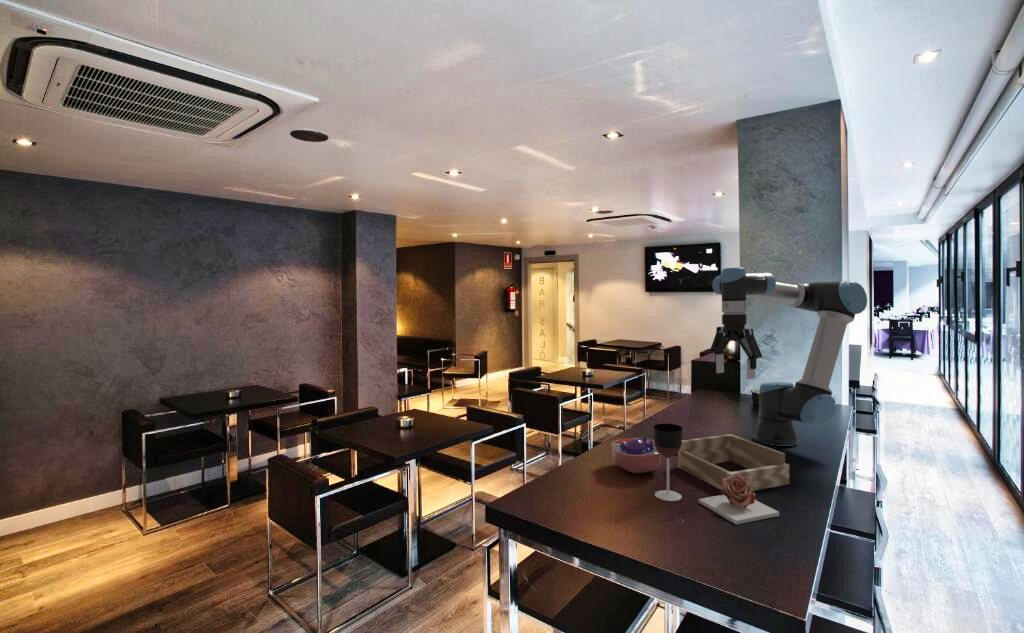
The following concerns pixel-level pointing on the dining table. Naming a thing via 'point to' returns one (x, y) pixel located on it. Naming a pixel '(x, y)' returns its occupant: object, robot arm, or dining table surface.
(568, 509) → the dining table surface
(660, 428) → the wineglass
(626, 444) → the cell model
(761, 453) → the frame
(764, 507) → the tile
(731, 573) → the dining table surface
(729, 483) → the flower
